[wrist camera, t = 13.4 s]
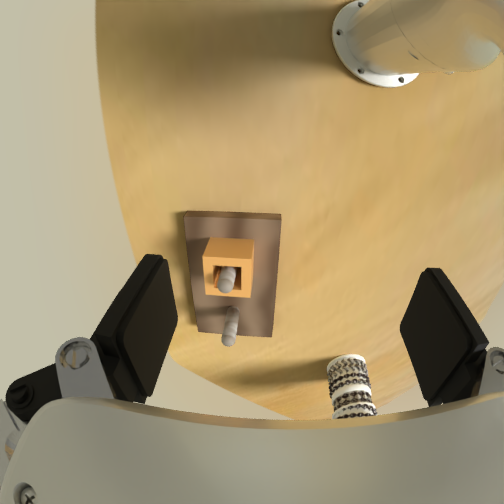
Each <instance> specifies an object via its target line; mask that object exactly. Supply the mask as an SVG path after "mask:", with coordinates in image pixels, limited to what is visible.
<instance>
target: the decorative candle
mask: <svg viewBox="0 0 504 504" xmlns="http://www.w3.org/2000/svg"><path fill="white" fill-rule="evenodd" d="M327 373H328V374H327V376H329V377H328V382H330V383H329V385H330V386H329V389H330V393H329V394H330V398H331V399H332V405H333V406H334V413H333V414H332V419H344V418H357V417H367V416H376V415H377V412H376V409H375V406H374V404H373V403H372V400H371V391H370V389H371V384H370V383H369V382H370V381H369V377H368V370H367V367H366V364H365V360H364V358H363V357H362V356H360V355H358V354H345V355H341V356H339V357H336V358H335V359H333V360H332V361H331V362H329V364H328V366H327Z"/></svg>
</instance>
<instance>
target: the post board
mask: <svg viewBox="0 0 504 504" xmlns="http://www.w3.org/2000/svg"><path fill="white" fill-rule="evenodd" d="M184 225H185V235H186V244H187V253H188V262H189V270H190V278H191V286H192V293H193V300H194V307H195V314H196V321H197V327H198V332H205V333H216V334H222V343H223V344H224V345H225V346H232V345H233V344H234V343H235V339H236V335H241V336H257V337H272V331H273V320H274V309H275V297H276V285H277V273H278V260H279V247H280V233H281V214H267V213H243V212H214V211H187V213H186V214H185V215H184ZM210 237H216V238H235V239H254V262H253V281H252V289H251V298H245V297H231V296H217V295H206V293H205V282H204V270H203V257H202V256H203V254H204V251H205V249H206V246H207V244H208V242H209V239H210ZM220 267H222V269H221V272H220V276H219V279H218V283H217V287H218V289H219V291H220V292H222V293H229V292H231V291H232V289H233V287H234V282H235V277H236V272H237V268H241V267H233V266H220Z"/></svg>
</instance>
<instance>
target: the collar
mask: <svg viewBox="0 0 504 504" xmlns="http://www.w3.org/2000/svg"><path fill="white" fill-rule="evenodd" d="M202 257H203V270H204V282H205V293H206V295H217V296H231V297H245V298H251V289H252V281H253V262H254V239H235V238H216V237H210V239H209V242H208V244H207V246H206V249H205V251H204V254H203V256H202ZM220 266H233V267H241V268H237V272H236V277H235V282H234V287H233V289H232V291H231V292H229V293H222V292H220V291H219V289H218V287H217V283H218V279H219V276H220V272H221V269H222V267H220Z"/></svg>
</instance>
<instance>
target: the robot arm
mask: <svg viewBox="0 0 504 504" xmlns="http://www.w3.org/2000/svg"><path fill="white" fill-rule="evenodd" d="M358 5H359V6H360V7H359V6H358ZM336 32H339V33H340V35H337V34H336ZM332 41H333V45H334V48H335V51H336V53H337V55H338V57H339V58H340V60H341V61H342V63H343V64H344V65H345V67H346V68H347V69H348V70H349V71H350V72H352V73H353V74H354V75H355V76H357V77H358V78H360V79H361V80H363V81H365V82H367V83H369V84H372V85H375V86H378V87H386V88H390V87H392V88H394V87H400V86H403V85H406V84H408V83H410V82H411V81H413V80H414V79H415V78H416V77H417V76H418V75H419V74H420V73H430V72H443V73H446V74H448V75H451V74H452V73H453V72H471V71H478V70H481V69H483V68H485V67H487V66H488V65H490V64H491V63H492V62H493V61H494V60H495V59H496V58H497V56H498V55H499V53H500V51H502V53H503V54H504V0H356V1H353V2H351V3H349V4H347V5H346V6H345V7H343V8H342V9H341V10H340V11H339V13H338V14H337V16H336V17H335V19H334V22H333V25H332ZM358 69H359V70H360V71H361V72H360V73H358ZM398 78H399V79H400V82H399V80H398ZM177 321H178V315H177V310H176V305H175V300H174V295H173V289H172V284H171V278H170V272H169V266H168V261H167V260H166V259H163V257H162V255H154V254H146V255H145V256H144V257H143V259H142V260H141V261H140V263H139V264H138V266H137V267H136V269H135V270H134V272H133V273H132V275H131V276H130V278H129V279H128V281H127V282H126V284H125V285H124V287H123V288H122V289H121V291H120V292H119V293H118V295H117V296H116V298H115V299H114V301H113V302H112V304H111V306H110V307H109V309H108V310H107V312H106V313H105V315H104V317H103V318H102V320H101V322H100V324H99V325H98V326H97V328H96V330H95V332H94V333H93V335H92V337H91V338H90V339H87V338H83V337H77V338H73V339H70V340H68V341H66V342H65V343H64V344H62V345H61V347H60V348H59V349H58V351H57V354H56V356H55V363H54V364H52V365H50V366H47V367H45V368H43V369H40V370H38V371H36V372H33V373H31V374H29V375H26V376H24V377H22V378H19V379H17V380H16V381H14V382H13V383H12V384H11V385H10V386H9V388H8V390H7V393H6V401H3V400H2V399H1V400H0V504H504V349H502V348H499V347H493V348H490V349H489V350H488V351H486V349H485V348H486V346H487V345H488V344H489V341H488V340H487V338H486V336H485V334H484V333H483V331H482V329H481V328H480V326H479V324H478V323H477V321H476V319H475V318H474V316H473V315H472V313H471V311H470V310H469V308H468V307H467V305H466V304H465V302H464V301H463V299H462V298H461V296H460V295H459V293H458V292H457V290H456V289H455V287H454V286H453V285H452V283H451V282H450V280H449V279H448V278H447V276H446V275H445V273H444V272H443V271H442V270H441V269H440V268H426V269H425V271H424V272H422V273H421V275H420V278H419V280H418V283H417V285H416V288H415V291H414V293H413V296H412V298H411V300H410V303H409V305H408V308H407V310H406V312H405V315H404V317H403V319H402V321H401V324H400V333H401V335H402V338H403V340H404V343H405V346H406V348H407V351H408V354H409V356H410V359H411V362H412V365H413V367H414V370H415V373H416V376H417V379H418V382H419V385H420V388H421V391H422V394H423V397H424V399H425V400H427V402H428V405H429V407H427V408H422V409H417V410H412V411H406V412H399V413H392V414H386V415H385V414H384V415H376V416H367V417H357V418H344V419H326V420H266V419H247V418H234V417H223V416H214V415H205V414H198V413H191V412H184V411H177V410H171V409H165V408H159V407H154V406H148V405H144V404H145V401H146V398H147V396H149V397H150V396H151V395H152V394H153V391H154V388H155V385H156V382H157V379H158V376H159V373H160V370H161V367H162V364H163V361H164V359H165V356H166V353H167V350H168V348H169V345H170V342H171V339H172V336H173V334H174V331H175V328H176V326H177ZM133 402H138V403H133ZM139 403H143V404H139ZM442 403H443V404H442ZM441 404H442V405H441Z"/></svg>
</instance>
